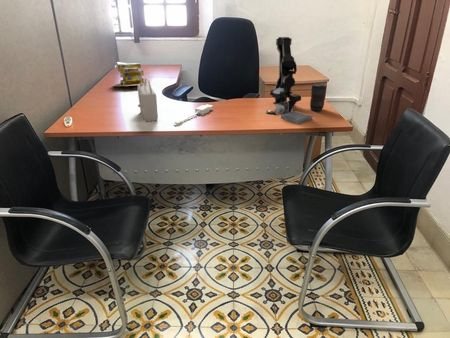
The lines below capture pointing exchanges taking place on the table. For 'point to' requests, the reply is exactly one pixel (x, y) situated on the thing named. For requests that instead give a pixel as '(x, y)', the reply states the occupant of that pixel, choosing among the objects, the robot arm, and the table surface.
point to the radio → (147, 101)
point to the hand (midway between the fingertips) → (284, 109)
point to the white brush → (197, 112)
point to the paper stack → (129, 74)
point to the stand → (296, 117)
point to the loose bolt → (271, 112)
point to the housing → (283, 108)
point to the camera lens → (317, 96)
